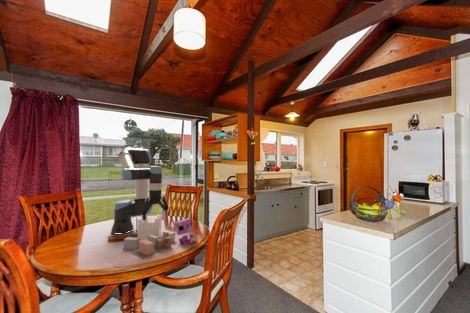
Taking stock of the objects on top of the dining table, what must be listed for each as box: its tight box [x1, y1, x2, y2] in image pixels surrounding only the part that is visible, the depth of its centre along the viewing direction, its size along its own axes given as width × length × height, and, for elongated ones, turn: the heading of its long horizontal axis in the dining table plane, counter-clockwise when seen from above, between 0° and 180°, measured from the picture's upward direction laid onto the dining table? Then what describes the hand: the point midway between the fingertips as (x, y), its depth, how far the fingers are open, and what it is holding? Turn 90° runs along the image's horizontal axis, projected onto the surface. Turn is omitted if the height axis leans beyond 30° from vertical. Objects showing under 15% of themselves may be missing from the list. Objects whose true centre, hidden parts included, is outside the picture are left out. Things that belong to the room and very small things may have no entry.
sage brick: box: [147, 234, 160, 248], centre depth 141 cm, size 8×4×6 cm, turn 55°
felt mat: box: [130, 248, 162, 260], centre depth 129 cm, size 12×12×1 cm
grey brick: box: [123, 236, 140, 250], centre depth 136 cm, size 8×4×6 cm, turn 85°
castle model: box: [137, 213, 163, 242], centre depth 153 cm, size 14×14×15 cm
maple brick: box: [162, 229, 176, 243], centre depth 150 cm, size 8×4×6 cm, turn 55°
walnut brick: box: [155, 236, 172, 251], centre depth 137 cm, size 8×4×6 cm, turn 130°
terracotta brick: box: [138, 240, 154, 255], centre depth 129 cm, size 8×4×6 cm, turn 55°
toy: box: [174, 217, 196, 245], centre depth 149 cm, size 11×8×15 cm
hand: (154, 222), depth 141 cm, fingers open, 13 cm apart
